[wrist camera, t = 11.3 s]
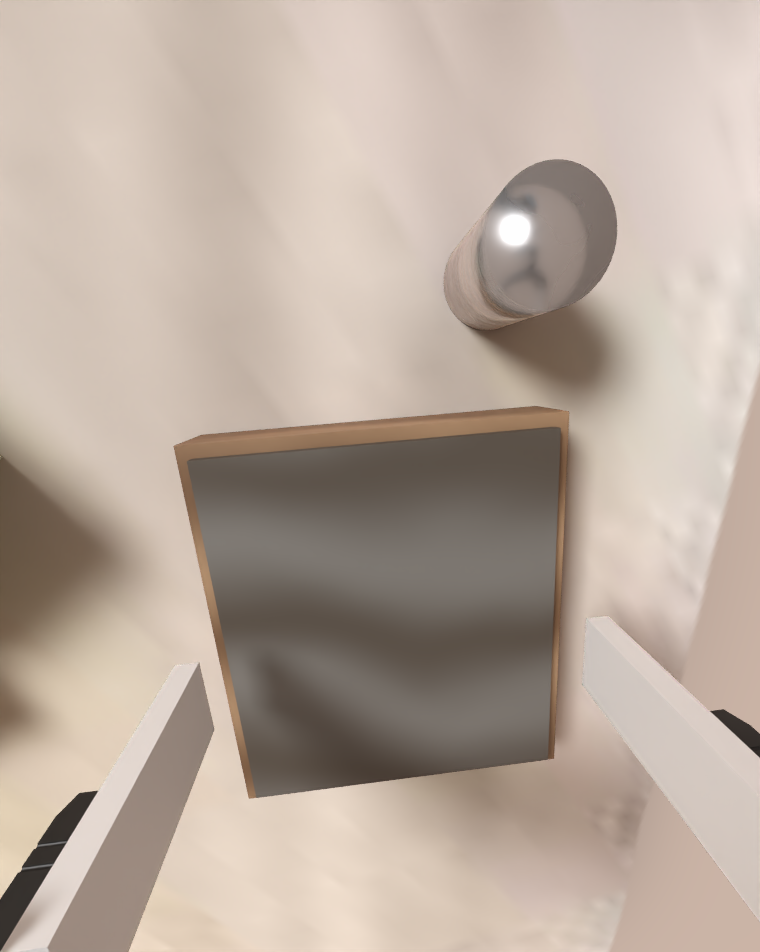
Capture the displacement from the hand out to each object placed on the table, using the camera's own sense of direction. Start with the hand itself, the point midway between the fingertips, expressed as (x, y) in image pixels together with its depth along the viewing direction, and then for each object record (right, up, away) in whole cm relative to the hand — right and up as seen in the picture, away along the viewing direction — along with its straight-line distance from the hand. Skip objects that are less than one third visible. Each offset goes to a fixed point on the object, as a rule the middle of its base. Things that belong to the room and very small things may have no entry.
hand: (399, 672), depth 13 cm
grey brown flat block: (0, +1, +5) cm, 5 cm away
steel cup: (+4, +14, +2) cm, 15 cm away
